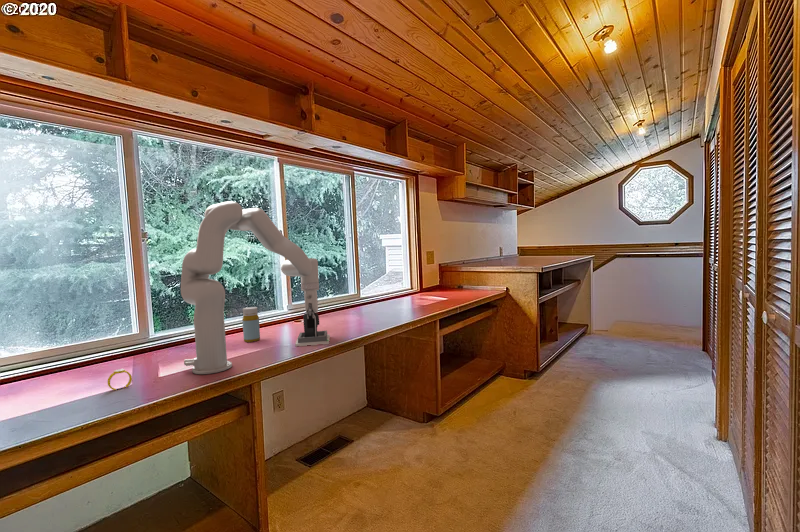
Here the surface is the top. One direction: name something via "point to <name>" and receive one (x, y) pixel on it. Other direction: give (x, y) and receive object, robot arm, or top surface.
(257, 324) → the bottle
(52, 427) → the top surface
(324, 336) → the dock
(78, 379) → the top surface
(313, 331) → the battery
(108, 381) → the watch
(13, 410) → the top surface
